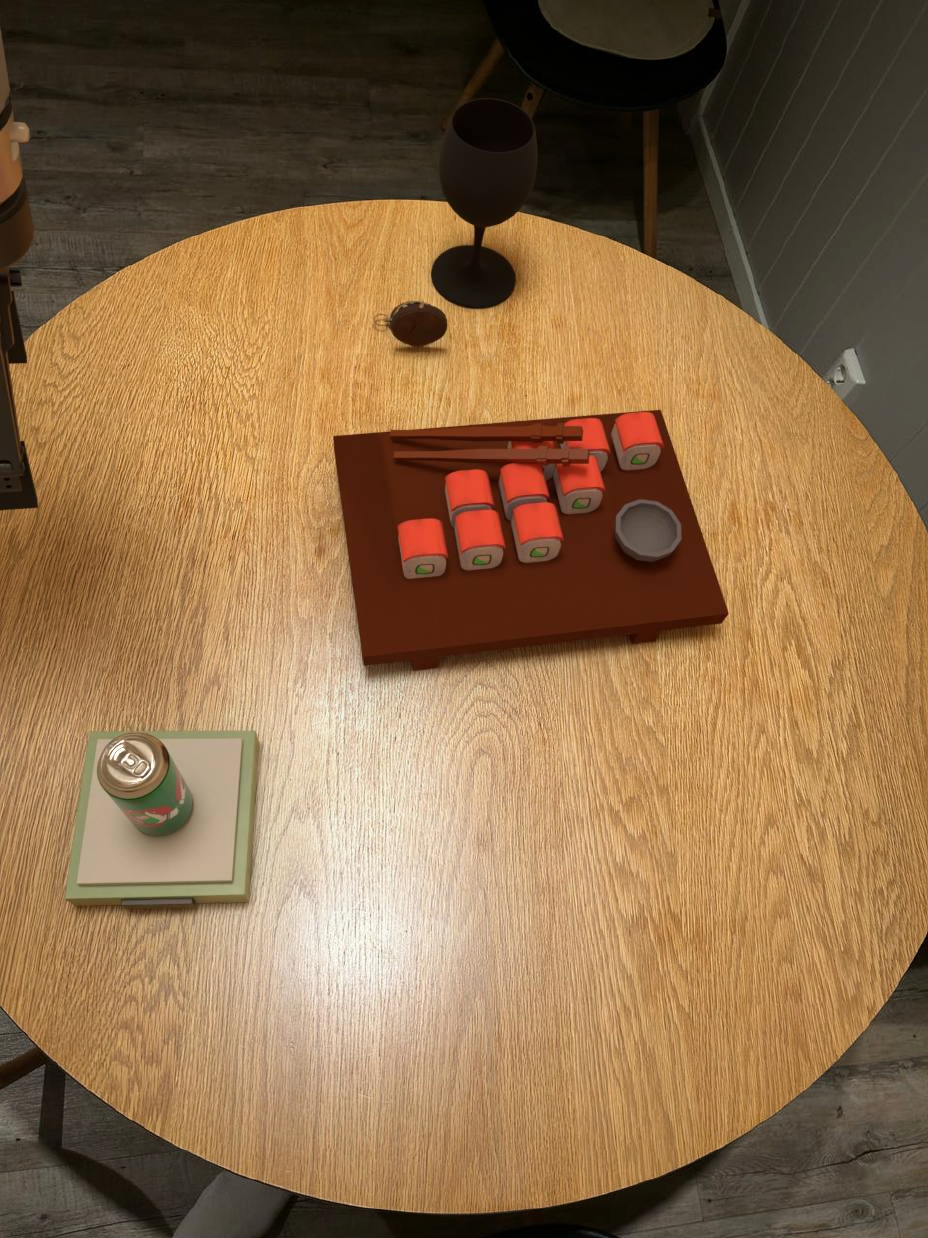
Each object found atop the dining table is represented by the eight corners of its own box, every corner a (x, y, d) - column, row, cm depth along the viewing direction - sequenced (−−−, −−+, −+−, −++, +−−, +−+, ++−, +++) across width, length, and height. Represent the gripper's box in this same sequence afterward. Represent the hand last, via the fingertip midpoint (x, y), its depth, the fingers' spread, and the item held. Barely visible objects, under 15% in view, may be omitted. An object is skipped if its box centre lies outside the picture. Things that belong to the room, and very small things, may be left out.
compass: (440, 305, 111) (444, 256, 104) (444, 357, 107) (449, 309, 101) (372, 304, 110) (372, 255, 103) (374, 356, 106) (374, 308, 100)
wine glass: (412, 270, 113) (421, 116, 95) (475, 234, 117) (495, 79, 99) (470, 322, 110) (490, 172, 92) (533, 283, 114) (564, 133, 96)
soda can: (158, 767, 78) (125, 714, 68) (206, 798, 78) (181, 750, 67) (117, 817, 76) (77, 771, 66) (167, 850, 75) (134, 809, 65)
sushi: (334, 462, 99) (330, 385, 88) (649, 436, 104) (681, 360, 94) (363, 677, 88) (363, 618, 77) (713, 634, 94) (757, 574, 83)
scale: (73, 912, 76) (60, 903, 73) (98, 743, 83) (86, 727, 79) (248, 908, 78) (243, 899, 74) (259, 742, 84) (254, 727, 81)
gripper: (39, 345, 47) (80, 568, 65) (14, 43, 58) (55, 306, 76) (-133, 347, 45) (-41, 578, 62) (-126, 31, 55) (-49, 305, 73)
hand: (12, 429), depth 69 cm, fingers open, 13 cm apart
